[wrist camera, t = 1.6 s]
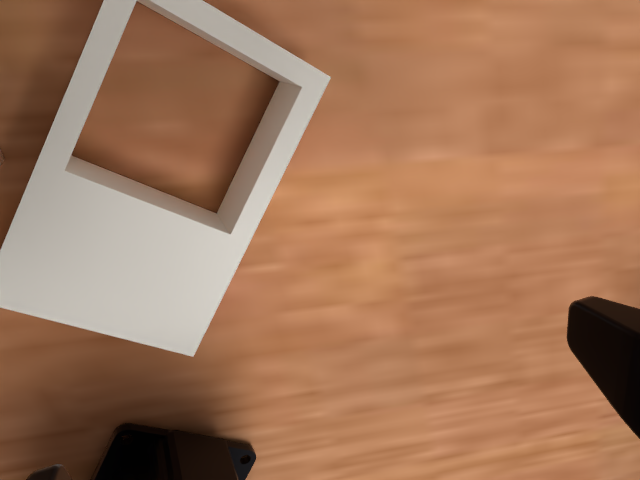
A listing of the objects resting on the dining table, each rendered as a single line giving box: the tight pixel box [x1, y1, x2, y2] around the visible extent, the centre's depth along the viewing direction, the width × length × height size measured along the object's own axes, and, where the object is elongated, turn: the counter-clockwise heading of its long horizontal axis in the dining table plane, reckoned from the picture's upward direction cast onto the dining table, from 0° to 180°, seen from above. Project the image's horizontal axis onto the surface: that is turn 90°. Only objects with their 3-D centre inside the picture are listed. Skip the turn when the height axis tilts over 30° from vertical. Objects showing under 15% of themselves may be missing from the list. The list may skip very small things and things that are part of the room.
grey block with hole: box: [0, 0, 331, 357], centre depth 18 cm, size 11×7×2 cm, turn 150°
